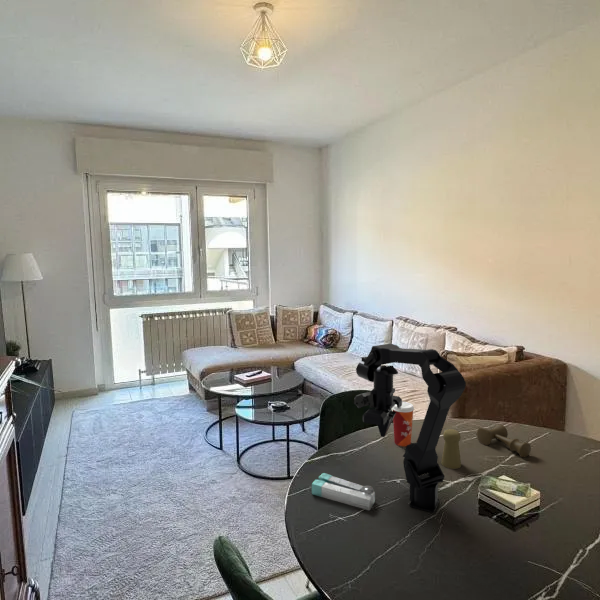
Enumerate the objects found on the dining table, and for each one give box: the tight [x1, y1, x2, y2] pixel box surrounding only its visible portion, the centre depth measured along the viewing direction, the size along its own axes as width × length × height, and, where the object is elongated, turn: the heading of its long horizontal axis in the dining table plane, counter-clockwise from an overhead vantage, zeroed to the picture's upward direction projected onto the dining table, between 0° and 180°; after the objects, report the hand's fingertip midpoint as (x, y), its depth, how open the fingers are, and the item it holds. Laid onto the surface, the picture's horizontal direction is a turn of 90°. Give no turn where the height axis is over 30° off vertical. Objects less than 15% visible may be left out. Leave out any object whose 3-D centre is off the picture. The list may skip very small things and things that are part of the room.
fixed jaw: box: [311, 478, 376, 511], centre depth 123 cm, size 17×6×4 cm, turn 61°
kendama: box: [476, 423, 532, 458], centre depth 153 cm, size 6×10×20 cm
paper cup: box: [392, 401, 415, 447], centre depth 156 cm, size 8×8×14 cm
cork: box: [440, 428, 462, 470], centre depth 140 cm, size 6×6×11 cm
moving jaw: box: [318, 472, 364, 492], centre depth 126 cm, size 13×3×3 cm, turn 56°
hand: (383, 436), depth 134 cm, fingers closed
